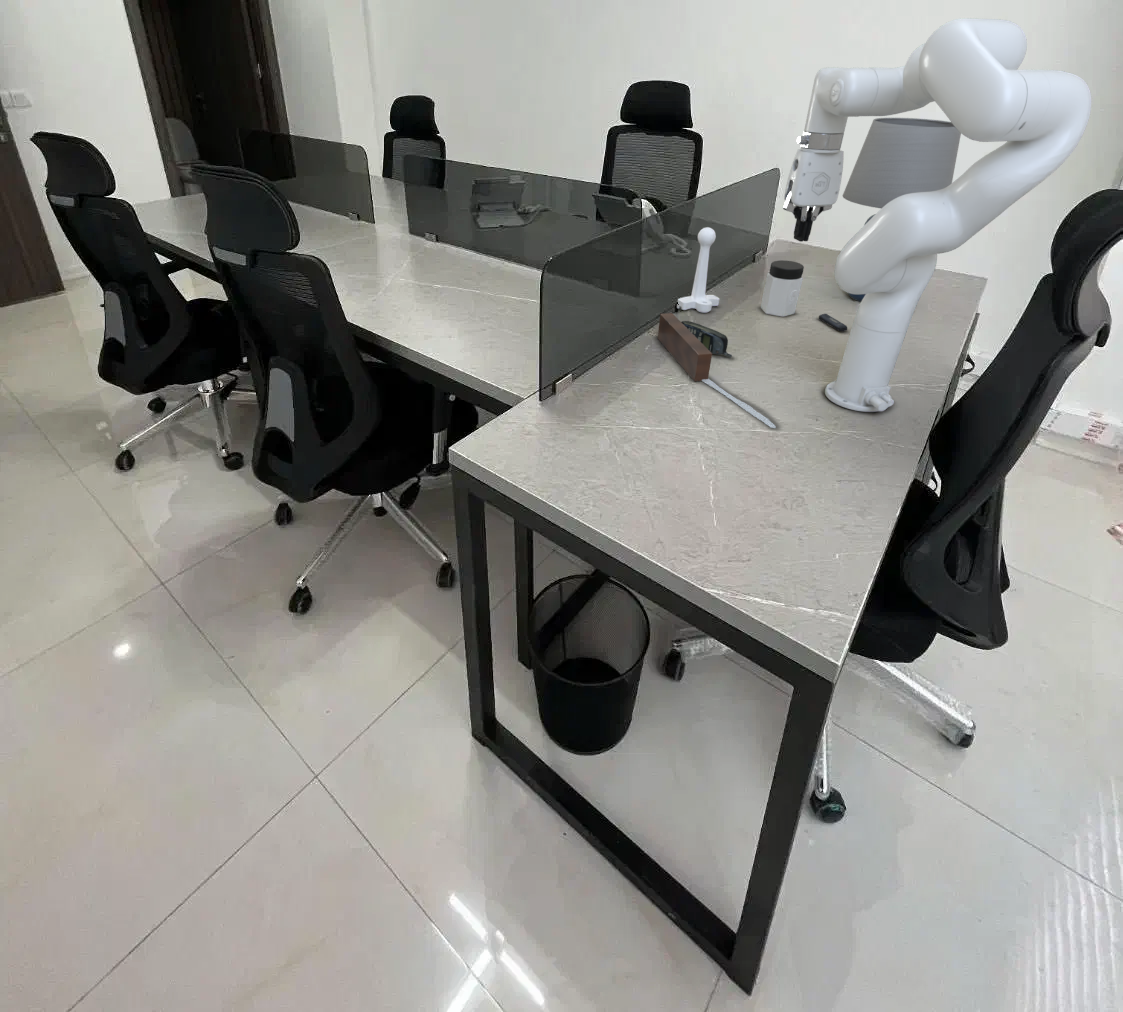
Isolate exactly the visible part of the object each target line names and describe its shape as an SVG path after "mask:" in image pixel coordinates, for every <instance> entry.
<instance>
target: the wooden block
mask: <svg viewBox="0 0 1123 1012" xmlns="http://www.w3.org/2000/svg"><path fill="white" fill-rule="evenodd" d="M658 321H659V322H658V330H657V340H658V342H660V343H661V344H662V346H664V348H665V349H666V351H668V353H670V355H671V356H672V357H673V358H674V359H675V361H676V362H677V363H678V364H679V365H680V366H681V368H682V369H683V370H684V371H685V372H686V373H687V374H688V375H689V377H690V378H691V379H692V381H694V382H702V381H701V380H703V379H709V376H710V371H711V370H710V369H711V364H712V359H713V354H712V353H711V352H710V351H709V350H708V349H707V348H706V347H705V346H704V345H703V344H702V343H701V342H700V341H699V340H698V339H697V338H696V337H695V336H694V335H693V334H692V333H691V332H690V331H689V330H688V329H687V328H686V327H685V326H684V325H683V324H682V323H681V322H682V321H681V320H680V319H679V318H678V317H677V316H676V315H675V314H673V312H669V313H667V312H666V313H660V314H659V320H658Z"/></svg>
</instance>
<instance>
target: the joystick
mask: <svg viewBox="0 0 1123 1012" xmlns="http://www.w3.org/2000/svg"><path fill="white" fill-rule="evenodd" d="M716 239H717V235H716V231H715V230H714V229H713V228H712V227H709V226H707V227H706V226H705V227H702V229H700V230H699V232H698V234H697V242H698V243H699V246H700V247H699V253H698V259H697V262H696V263H697V264H696V269H695V274H694V279H693V284H692V290H691V295H689V296H683V297H680V298H677V302H678V304H679V305H678V304H677V303H676V309H678V310H683V311H686V310H690V309H696V311H697V312H699V313H703V314H706V313H710V312H711V311H712V307H718V306H719V305H720V297H718V296H717V295H715V294H706V290H707V281H708V280H707V279H708V269H709V260H710V250H711V249H710V248H711V246H712V245H713V244H714V243H715V241H716Z"/></svg>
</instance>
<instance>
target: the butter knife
mask: <svg viewBox="0 0 1123 1012" xmlns="http://www.w3.org/2000/svg"><path fill="white" fill-rule="evenodd" d="M700 382H702V383H704V384H706V385H707V386H709V387H710V388H712V389H714V390H715V391H716V392H719V393H720V394H722V395H723V396H724V397H726V398H728V399H729V400H731V401H732V402H734V403H735V404H736V405H737V406H739V407H740V408H742V409H743V410H744V411H746V412H747V413H749V414H750V415H751V416H753V417H755V418H757V419H758V420H759V421H761V422H762V423H764V424H765V425H766V426H768V427H769V428H771V429H776V428H777V426H776V425H775V424H774V423H773V422H772V421H771V420H770V419H769V418H768V417H766V416H765V415H763V414H761V413H760V412H758V411H757V410H755V409H754V408H753V407H752V406H751V405H749V404H748V403H745V402H743V401H742V400H740V399H738V398H736V397H735V396H733V395H732V394H730V393H728V392H727V391H725V390H724V389H723V388H721V387H720V386H719V385H717V384H716V383H715V382H714V381H713V380H712V379H710V378H708V379H703V380H701V381H700Z"/></svg>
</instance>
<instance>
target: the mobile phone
mask: <svg viewBox="0 0 1123 1012" xmlns="http://www.w3.org/2000/svg"><path fill="white" fill-rule="evenodd" d="M681 323H682V324H683V325H684V326H685V327H686V328H687V329H688V330H689V331H690V332H691V333H692V334H693V335H694V336H695V337H696V338H697V339H698V340H699V341H700V342H701V343H702V344H703V345H704V346H705V347H706V348H707V349H708V350H709V351H710V352H711V353H712V355H722V356H725V357H728V358H732V357H733V355H732V354H730V353H728V352H727V349H728V344H729V338H728V337H727V335H726V334H723V333H722V332H719V331H718V330H716V329H712V328H710V327H707V326H704V325H702V324H700V323H696V322H693V321H689V320H682V321H681Z"/></svg>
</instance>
